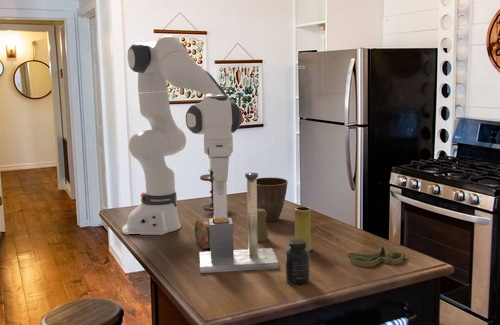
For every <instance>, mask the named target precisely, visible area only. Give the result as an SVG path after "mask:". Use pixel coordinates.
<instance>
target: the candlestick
mask: <svg viewBox="0 0 500 325" xmlns="http://www.w3.org/2000/svg"><path fill="white" fill-rule="evenodd" d="M207 171H208V172H209V174H202V175H200V176H199V180H201V181H205V182H210V185H211V187H210V188H211V189H210V191H209V193H210V194H211V196H210V198H211V203H208V204H205V205H203V206H202V208H203V209H202V210H205V211H208V210H210V211H211V212H214V199H213V170H212V162H211V159H209V169H208V170H207Z"/></svg>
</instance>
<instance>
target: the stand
mask: <svg viewBox="0 0 500 325" xmlns="http://www.w3.org/2000/svg"><path fill="white" fill-rule="evenodd" d="M244 176H245V178H246V193H247V194H246V197H247V200H246V202H247V203H246V204H247V207H246V208H247V241H248V242H247V244H248V246H247V247H248V248H247V249H234V223H233V219H232V217H228V223H218V224H214V218H209V219H208V220H209V221H208V223H209V226H210V248H209V249H210V250H209V251H208V250H207V251H199V271H200V272H199V273H201V274H204V273H205V274H206V273H209V274H210V273H221V272H240V271H241V272H242V271H259V270H262V271H263V270H279V261H278V259H277V256H276V253H275V252H274V249H273V248H272V247H266V248H265V247H264V248H259V247H258V246H259V241H258V231H257V179H258V177H259V173H258V172H246V173H244Z"/></svg>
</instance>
